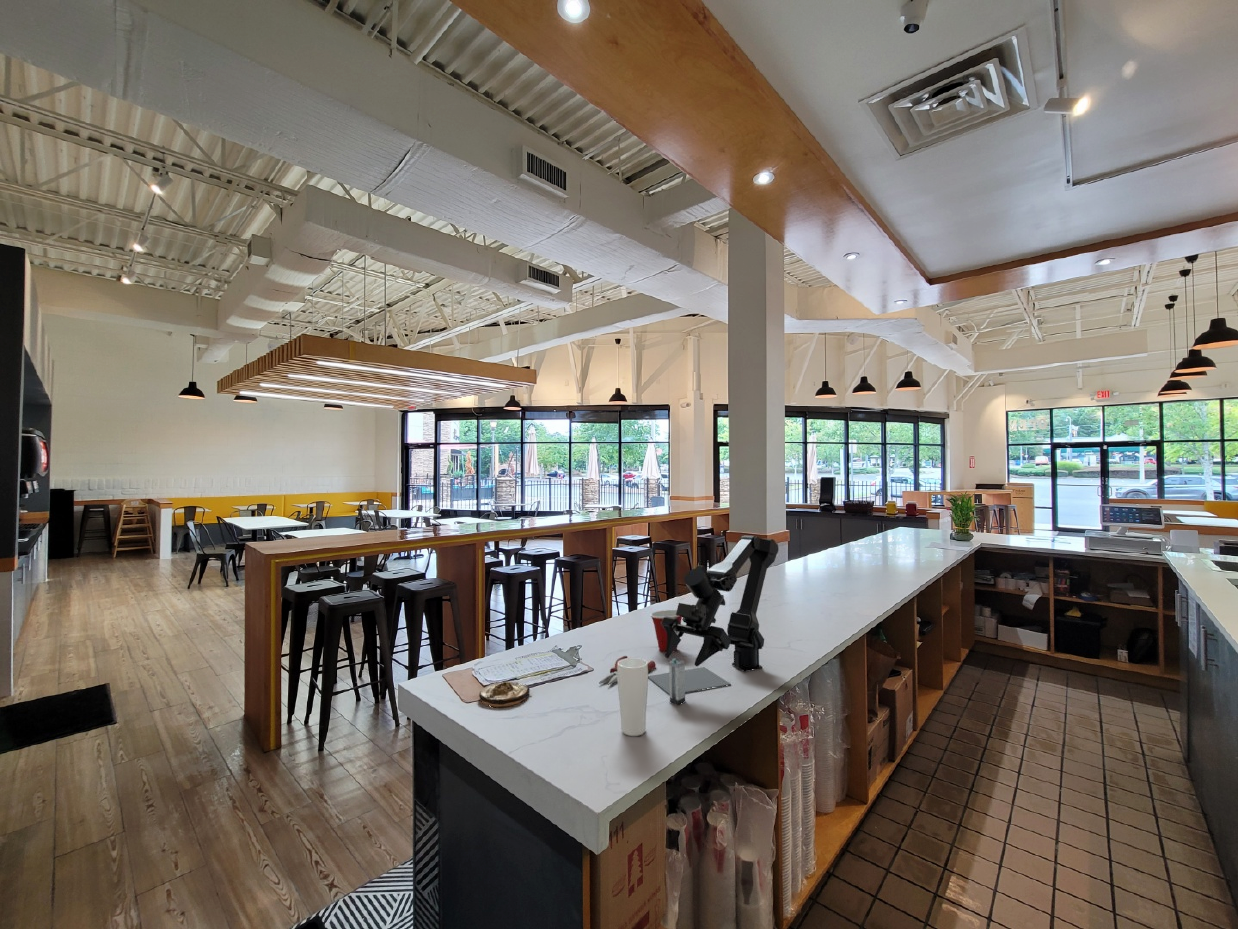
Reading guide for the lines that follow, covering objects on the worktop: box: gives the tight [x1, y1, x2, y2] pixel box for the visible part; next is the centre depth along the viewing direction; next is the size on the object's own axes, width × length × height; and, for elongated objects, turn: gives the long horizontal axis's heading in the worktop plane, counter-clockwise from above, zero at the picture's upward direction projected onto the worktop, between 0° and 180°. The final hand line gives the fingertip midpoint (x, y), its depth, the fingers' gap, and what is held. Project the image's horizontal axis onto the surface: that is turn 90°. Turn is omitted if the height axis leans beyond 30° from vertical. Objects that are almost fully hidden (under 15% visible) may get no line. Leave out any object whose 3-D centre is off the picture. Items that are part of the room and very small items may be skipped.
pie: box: [478, 680, 533, 709], centre depth 138 cm, size 15×15×4 cm
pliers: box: [598, 655, 657, 686], centre depth 153 cm, size 12×20×3 cm, turn 149°
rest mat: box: [648, 666, 732, 697], centre depth 147 cm, size 18×14×1 cm
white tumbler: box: [617, 657, 649, 737], centre depth 118 cm, size 7×7×15 cm
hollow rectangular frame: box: [668, 658, 686, 706], centre depth 134 cm, size 3×3×11 cm
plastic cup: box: [649, 609, 683, 653], centre depth 175 cm, size 11×11×12 cm
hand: (680, 661), depth 135 cm, fingers open, 9 cm apart
